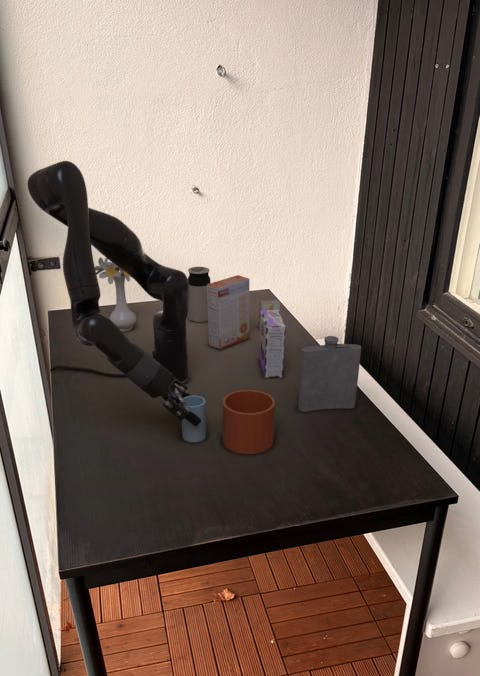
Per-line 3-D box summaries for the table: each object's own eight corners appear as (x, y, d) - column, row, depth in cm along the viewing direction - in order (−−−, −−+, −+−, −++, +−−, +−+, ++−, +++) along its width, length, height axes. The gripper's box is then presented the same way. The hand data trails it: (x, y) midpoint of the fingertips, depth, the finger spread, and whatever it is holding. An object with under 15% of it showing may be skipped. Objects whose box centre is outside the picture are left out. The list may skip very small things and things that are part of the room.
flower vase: (154, 332, 222) (150, 260, 209) (99, 337, 218) (91, 263, 205) (149, 319, 232) (145, 249, 220) (97, 323, 228) (89, 252, 216)
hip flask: (299, 412, 174) (303, 343, 163) (295, 405, 177) (299, 337, 167) (356, 408, 176) (364, 339, 166) (351, 401, 179) (359, 333, 169)
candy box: (258, 359, 203) (260, 309, 195) (277, 358, 204) (279, 308, 195) (263, 378, 191) (265, 326, 183) (283, 377, 192) (286, 325, 184)
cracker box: (237, 334, 221) (237, 274, 210) (250, 339, 217) (250, 278, 207) (207, 345, 212) (205, 283, 202) (219, 350, 209) (218, 287, 198)
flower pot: (216, 450, 157) (216, 410, 151) (230, 424, 167) (230, 387, 162) (267, 457, 154) (268, 417, 149) (278, 431, 165) (279, 393, 159)
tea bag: (258, 326, 227) (259, 299, 222) (277, 325, 228) (278, 298, 223) (260, 330, 224) (260, 302, 219) (279, 329, 225) (280, 302, 220)
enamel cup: (179, 440, 161) (177, 405, 156) (187, 428, 166) (185, 394, 161) (202, 443, 159) (201, 408, 154) (209, 432, 164) (208, 397, 159)
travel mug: (185, 320, 232) (183, 271, 223) (194, 313, 238) (193, 265, 229) (205, 323, 229) (204, 274, 220) (214, 316, 235) (213, 267, 226)
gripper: (139, 371, 160) (187, 410, 167) (136, 398, 148) (188, 439, 155) (159, 351, 158) (207, 391, 165) (158, 377, 146) (210, 419, 152)
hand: (198, 414), depth 160 cm, fingers open, 8 cm apart
